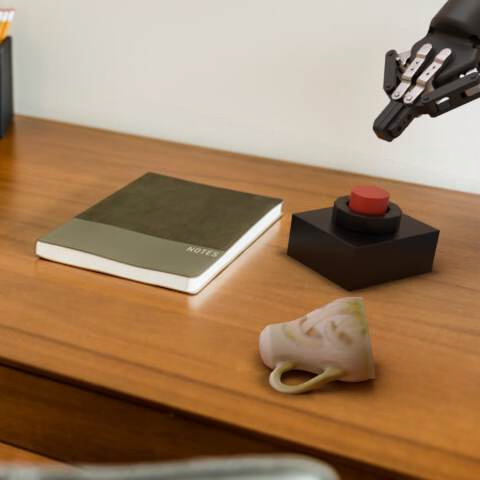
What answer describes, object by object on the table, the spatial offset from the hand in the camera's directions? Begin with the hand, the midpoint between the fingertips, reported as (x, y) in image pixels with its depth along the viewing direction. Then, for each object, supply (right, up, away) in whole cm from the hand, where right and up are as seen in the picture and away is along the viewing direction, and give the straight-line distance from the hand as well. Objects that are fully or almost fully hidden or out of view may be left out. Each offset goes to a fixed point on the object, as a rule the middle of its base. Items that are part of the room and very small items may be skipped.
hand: (380, 135), depth 93 cm
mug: (-10, -22, -16) cm, 29 cm away
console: (-1, -14, +6) cm, 15 cm away
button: (-1, -7, +3) cm, 8 cm away
